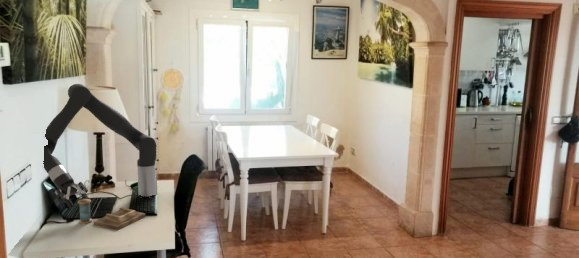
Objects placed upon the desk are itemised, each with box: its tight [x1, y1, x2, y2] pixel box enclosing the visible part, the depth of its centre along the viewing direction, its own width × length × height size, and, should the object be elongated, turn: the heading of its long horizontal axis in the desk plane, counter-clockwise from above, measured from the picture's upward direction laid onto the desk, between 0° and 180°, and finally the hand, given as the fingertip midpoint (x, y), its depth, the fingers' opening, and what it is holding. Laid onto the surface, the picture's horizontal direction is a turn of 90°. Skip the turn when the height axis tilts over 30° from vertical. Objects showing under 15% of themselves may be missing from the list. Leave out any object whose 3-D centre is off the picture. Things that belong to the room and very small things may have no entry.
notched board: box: [93, 207, 146, 231], centre depth 209 cm, size 18×14×4 cm
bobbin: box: [77, 198, 93, 225], centre depth 207 cm, size 5×5×10 cm
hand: (80, 204), depth 207 cm, fingers open, 8 cm apart
